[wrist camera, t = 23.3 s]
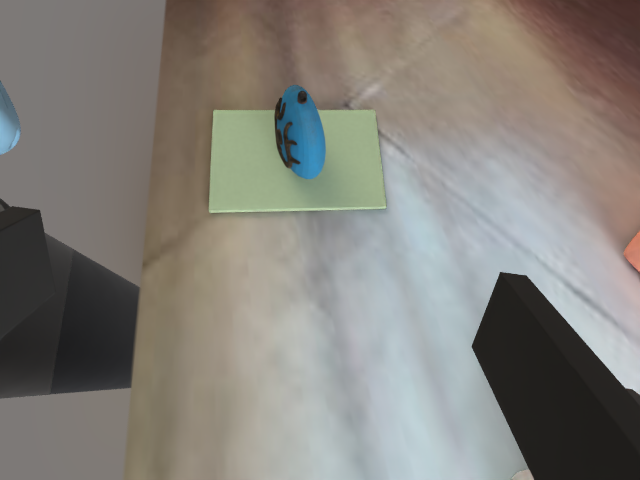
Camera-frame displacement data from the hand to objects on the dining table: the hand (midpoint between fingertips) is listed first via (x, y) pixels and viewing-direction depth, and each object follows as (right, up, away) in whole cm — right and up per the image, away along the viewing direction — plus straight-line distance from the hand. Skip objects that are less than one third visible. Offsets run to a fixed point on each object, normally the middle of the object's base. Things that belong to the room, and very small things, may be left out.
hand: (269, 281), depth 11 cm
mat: (-1, +10, +30) cm, 32 cm away
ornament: (-1, +10, +30) cm, 31 cm away
